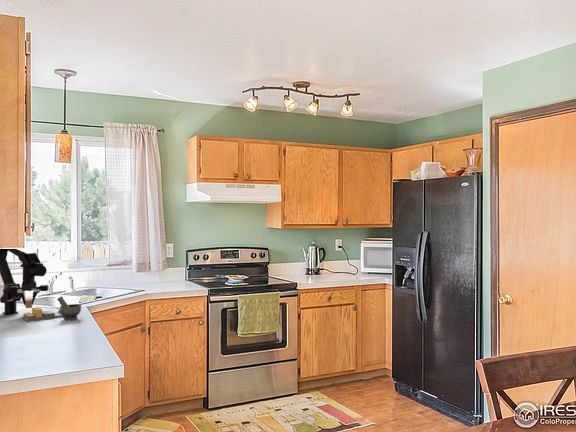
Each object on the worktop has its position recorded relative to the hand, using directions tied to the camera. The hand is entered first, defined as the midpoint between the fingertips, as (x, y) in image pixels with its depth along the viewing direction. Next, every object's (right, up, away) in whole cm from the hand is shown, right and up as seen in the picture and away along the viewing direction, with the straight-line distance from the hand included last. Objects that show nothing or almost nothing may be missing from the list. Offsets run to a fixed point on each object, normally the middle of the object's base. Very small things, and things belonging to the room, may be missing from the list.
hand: (28, 305), depth 270 cm
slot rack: (+12, -5, -5) cm, 14 cm away
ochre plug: (+9, -4, -8) cm, 13 cm away
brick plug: (0, -1, +1) cm, 1 cm away
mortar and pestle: (+26, -6, -12) cm, 29 cm away
